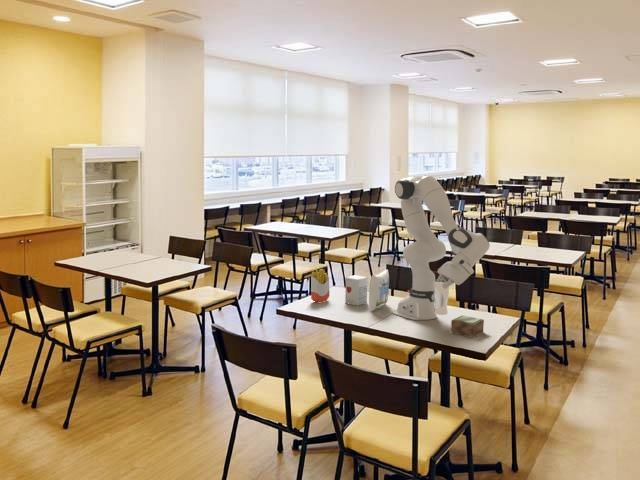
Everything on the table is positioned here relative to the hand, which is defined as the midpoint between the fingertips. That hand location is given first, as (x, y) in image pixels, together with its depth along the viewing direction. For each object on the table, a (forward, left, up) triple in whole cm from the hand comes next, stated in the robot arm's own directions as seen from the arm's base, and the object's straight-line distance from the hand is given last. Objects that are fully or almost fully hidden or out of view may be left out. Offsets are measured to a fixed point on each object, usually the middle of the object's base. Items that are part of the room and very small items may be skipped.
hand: (440, 285), depth 260 cm
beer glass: (+1, +1, -13) cm, 13 cm away
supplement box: (-62, +23, -24) cm, 71 cm away
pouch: (-47, +23, -24) cm, 58 cm away
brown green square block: (+8, +13, -23) cm, 28 cm away
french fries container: (-80, +13, -24) cm, 84 cm away
